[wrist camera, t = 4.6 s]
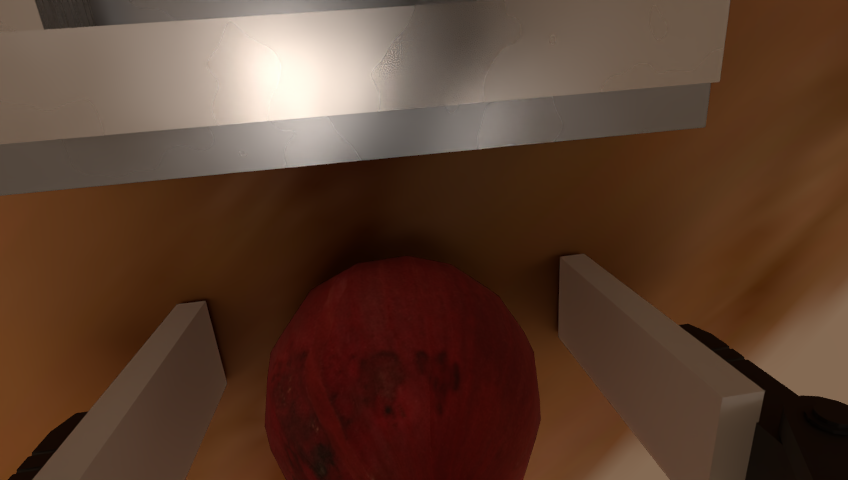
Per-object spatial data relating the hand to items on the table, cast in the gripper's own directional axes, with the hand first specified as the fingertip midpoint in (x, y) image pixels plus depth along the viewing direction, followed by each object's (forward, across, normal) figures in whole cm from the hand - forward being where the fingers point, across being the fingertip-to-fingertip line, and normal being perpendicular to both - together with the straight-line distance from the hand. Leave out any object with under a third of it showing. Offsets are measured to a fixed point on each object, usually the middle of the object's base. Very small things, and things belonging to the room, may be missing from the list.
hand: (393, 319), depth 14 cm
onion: (0, 0, 0) cm, 0 cm away
